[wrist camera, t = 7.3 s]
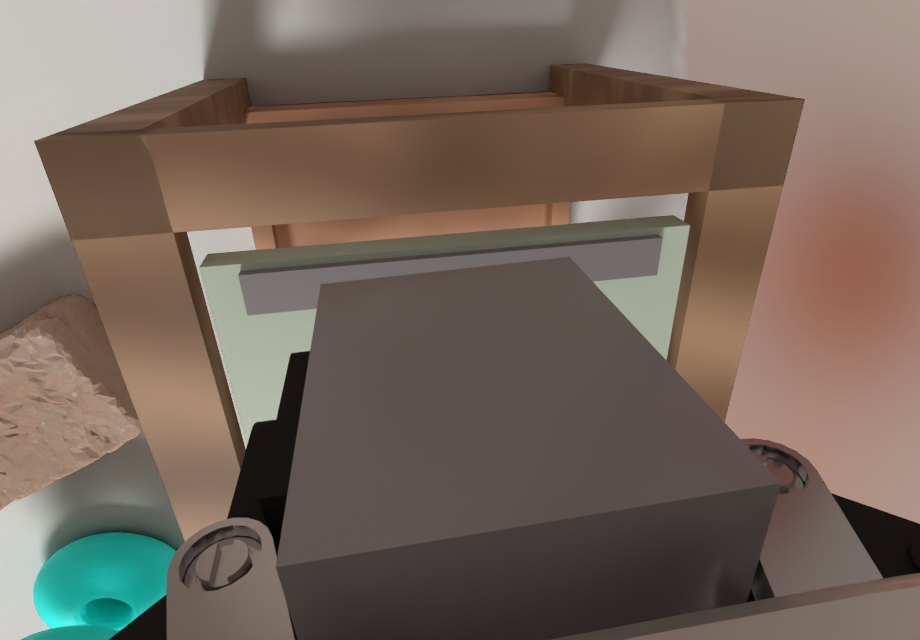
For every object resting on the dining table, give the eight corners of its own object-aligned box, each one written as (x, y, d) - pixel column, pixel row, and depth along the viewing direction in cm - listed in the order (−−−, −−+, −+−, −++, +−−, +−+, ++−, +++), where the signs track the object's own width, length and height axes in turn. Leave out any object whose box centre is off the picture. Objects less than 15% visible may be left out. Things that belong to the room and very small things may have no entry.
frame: (203, 79, 27) (34, 141, 13) (586, 63, 30) (805, 99, 15) (288, 459, 39) (251, 717, 24) (560, 423, 41) (671, 636, 27)
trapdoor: (207, 254, 16) (196, 271, 14) (673, 215, 18) (695, 228, 16) (292, 582, 22) (289, 612, 21) (623, 528, 24) (636, 553, 23)
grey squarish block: (320, 283, 11) (276, 567, 5) (569, 257, 11) (781, 482, 6) (356, 477, 13) (353, 821, 7) (561, 447, 14) (705, 744, 8)
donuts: (102, 780, 35) (-74, 745, 31) (151, 631, 44) (19, 587, 40) (191, 696, 33) (14, 646, 29) (224, 557, 42) (92, 502, 38)
